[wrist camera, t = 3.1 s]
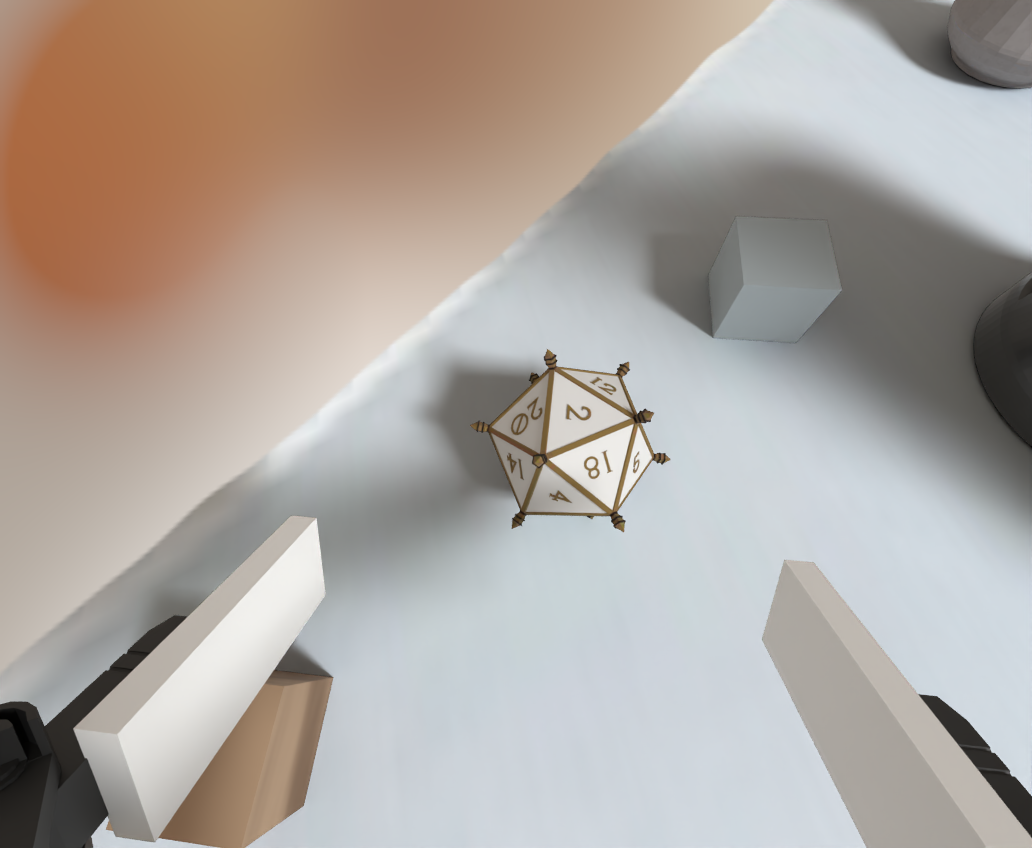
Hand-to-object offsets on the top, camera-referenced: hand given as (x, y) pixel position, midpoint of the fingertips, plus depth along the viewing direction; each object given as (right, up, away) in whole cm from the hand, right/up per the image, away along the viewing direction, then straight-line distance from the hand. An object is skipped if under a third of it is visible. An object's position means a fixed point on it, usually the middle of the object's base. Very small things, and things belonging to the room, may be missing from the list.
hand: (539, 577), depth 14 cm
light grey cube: (+14, +12, +17) cm, 25 cm away
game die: (+2, +2, +13) cm, 14 cm away
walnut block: (-12, -10, +9) cm, 18 cm away
